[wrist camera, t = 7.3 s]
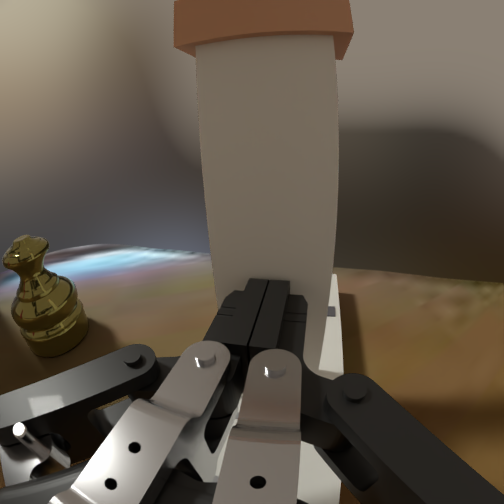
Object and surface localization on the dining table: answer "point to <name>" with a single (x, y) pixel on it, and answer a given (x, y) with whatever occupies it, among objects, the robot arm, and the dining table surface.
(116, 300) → the dining table surface
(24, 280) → the brass knobbed piece
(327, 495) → the white scale plate
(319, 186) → the fader tab
